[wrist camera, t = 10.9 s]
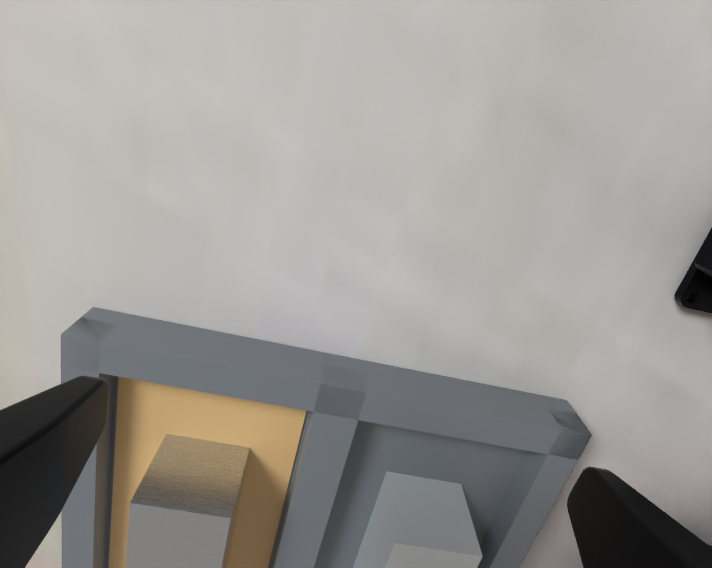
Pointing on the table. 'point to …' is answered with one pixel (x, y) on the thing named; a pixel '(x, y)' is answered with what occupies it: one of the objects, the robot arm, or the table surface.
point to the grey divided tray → (318, 450)
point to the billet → (186, 505)
